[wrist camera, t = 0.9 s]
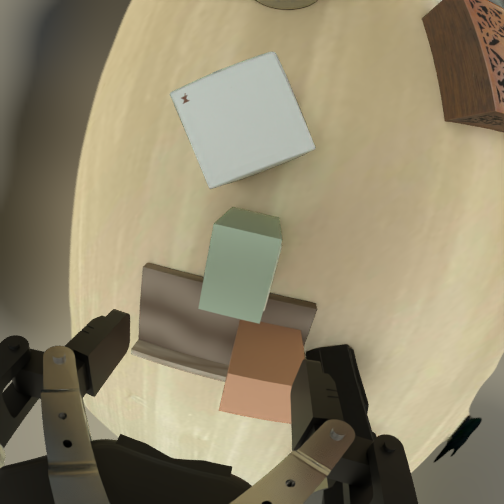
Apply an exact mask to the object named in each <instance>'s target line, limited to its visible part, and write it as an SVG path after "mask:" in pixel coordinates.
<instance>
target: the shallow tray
mask: <svg viewBox="0 0 504 504" xmlns="http://www.w3.org/2000/svg"><path fill="white" fill-rule="evenodd" d="M203 279H204V277H201V276H197V275H193V274H189V273H185V272H181V271H177V270H173V269H170V268H166V267H162V266H158V265H155V264H151V263H147V264H146V265H145V266H143V273H142V285H141V299H140V316H139V339H138V341H137V342H136V344H135V345H134V346H133V348H132V349H131V354H132V355H135V356H138V357H141V358H144V359H147V360H150V361H153V362H156V363H159V364H162V365H165V366H168V367H172V368H175V369H178V370H182V371H185V372H189V373H193V374H196V375H200V376H204V377H208V378H211V379H215V380H220V381H224V382H225V381H226V377H227V372H228V368H229V363H230V359H231V355H232V350H233V346H234V342H235V338H236V334H237V330H238V326H239V322H240V319H237V318H233V317H229V316H225V315H221V314H217V313H213V312H209V311H205V310H201V309H198V308H199V302H200V296H201V290H202V285H203ZM316 311H317V307H316V303H311V302H307V301H302V300H298V299H293V298H289V297H284V296H280V295H275V294H271V293H269V297H268V300H267V304H266V307H265V311H263V313H262V317H261V320H260V322H265V323H269V324H274V325H278V326H283V327H288V328H293V329H298V330H301V335H302V341H303V347H304V344H305V341H306V339H307V336H308V333H309V331H310V328H311V325H312V323H313V320H314V317H315V314H316Z"/></svg>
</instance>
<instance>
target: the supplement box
mask: <svg viewBox="0 0 504 504" xmlns="http://www.w3.org/2000/svg"><path fill="white" fill-rule="evenodd" d="M170 96H171V98H172V101H173V103H174V106H175V108H176V110H177V113H178V115H179V117H180V120H181V122H182V125H183V127H184V129H185V132H186V134H187V136H188V139H189V141H190V143H191V146H192V148H193V150H194V153H195V155H196V158H197V160H198V162H199V165H200V167H201V170H202V172H203V175H204V177H205V180H206V182H207V184H208V187H209V188H210V189H213V188H216V187H219V186H222V185H225V184H229V183H232V182H235V181H238V180H241V179H243V178H246V177H249V176H252V175H254V174H257V173H260V172H262V171H265V170H268V169H270V168H273V167H275V166H278V165H280V164H283V163H285V162H288V161H290V160H293V159H296V158H298V157H300V156H303V155H305V154H307V153H308V152H310V151H312V150H315V148H316V147H315V145H314V143H313V140H312V137H311V135H310V132H309V130H308V127H307V125H306V122H305V120H304V117H303V115H302V112H301V110H300V107H299V105H298V102H297V100H296V97H295V95H294V92H293V90H292V88H291V85H290V83H289V81H288V78H287V76H286V74H285V72H284V70H283V67H282V65H281V63H280V61H279V59H278V57H277V54H276V53H275V52H268V53H265V54H262V55H259V56H256V57H253V58H250V59H248V60H245V61H242V62H239V63H237V64H234V65H232V66H229V67H226V68H224V69H221V70H218V71H216V72H214V73H212V74H209V75H207V76H205V77H202V78H200V79H198V80H196V81H194V82H191V83H189V84H187V85H185V86H183V87H181V88H179V89H177V90H174V91H172V92H171V93H170Z"/></svg>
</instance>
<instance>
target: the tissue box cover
mask: <svg viewBox="0 0 504 504" xmlns="http://www.w3.org/2000/svg"><path fill="white" fill-rule="evenodd" d="M422 20H423V23H424V27H425V30H426V33H427V37H428V40H429V44H430V47H431V51H432V55H433V59H434V63H435V68H436V72H437V77H438V82H439V87H440V92H441V98H442V104H443V111H444V118H445V121H448V122H454V123H461V124H466V125H472V126H477V127H482V128H487V129H492V130H496V131H501V132H504V9H503V8H501V7H500V6H498V5H496V4H494V3H492V2H490V1H488V0H442V1H441V2H440V3H439V4H438V5H437V6H435V7H434V8H433V9H432V10H431V11H430V12H429V13H428V14H427V15H425V16H424V17H423V18H422Z"/></svg>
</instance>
